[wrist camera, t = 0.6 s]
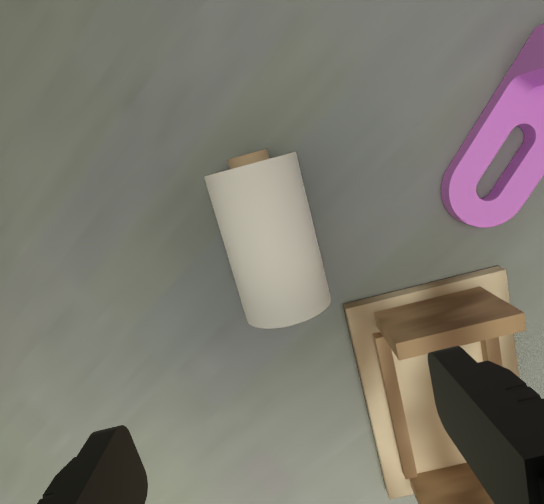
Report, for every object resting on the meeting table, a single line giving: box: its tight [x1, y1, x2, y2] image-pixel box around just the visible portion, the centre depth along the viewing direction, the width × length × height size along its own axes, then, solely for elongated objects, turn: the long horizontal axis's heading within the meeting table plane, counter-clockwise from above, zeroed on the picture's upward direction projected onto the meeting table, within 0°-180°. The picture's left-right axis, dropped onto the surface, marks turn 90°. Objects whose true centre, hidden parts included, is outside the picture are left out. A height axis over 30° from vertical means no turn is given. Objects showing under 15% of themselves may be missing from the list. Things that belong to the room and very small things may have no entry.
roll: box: [204, 149, 331, 329], centre depth 25 cm, size 11×6×6 cm, turn 15°
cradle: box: [343, 266, 526, 504], centre depth 28 cm, size 12×18×6 cm, turn 15°
